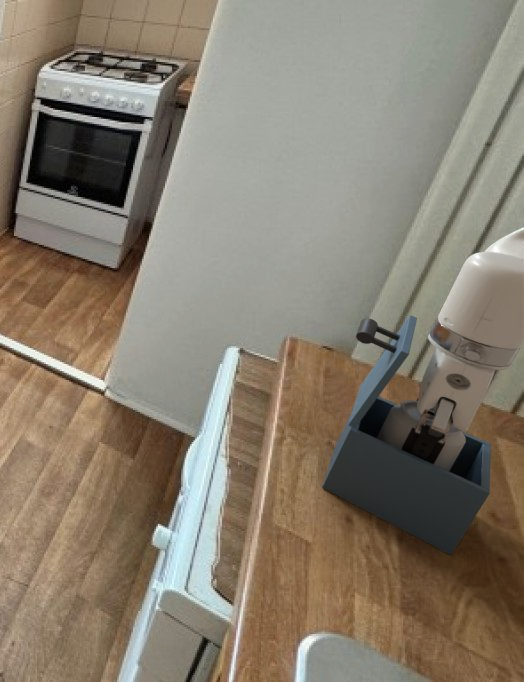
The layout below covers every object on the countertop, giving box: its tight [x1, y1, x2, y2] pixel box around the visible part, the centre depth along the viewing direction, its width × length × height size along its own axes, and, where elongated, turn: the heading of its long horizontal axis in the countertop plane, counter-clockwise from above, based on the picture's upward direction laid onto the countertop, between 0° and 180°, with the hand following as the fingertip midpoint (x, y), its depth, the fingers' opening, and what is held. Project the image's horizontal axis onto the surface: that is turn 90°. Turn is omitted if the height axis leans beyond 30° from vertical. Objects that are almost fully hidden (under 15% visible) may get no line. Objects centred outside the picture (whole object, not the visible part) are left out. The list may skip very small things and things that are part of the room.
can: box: [377, 399, 466, 471], centre depth 86 cm, size 8×8×12 cm
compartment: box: [321, 395, 492, 556], centre depth 88 cm, size 14×12×12 cm
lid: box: [348, 314, 418, 428], centre depth 88 cm, size 14×12×5 cm
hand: (419, 440), depth 86 cm, fingers closed on can, 7 cm apart
